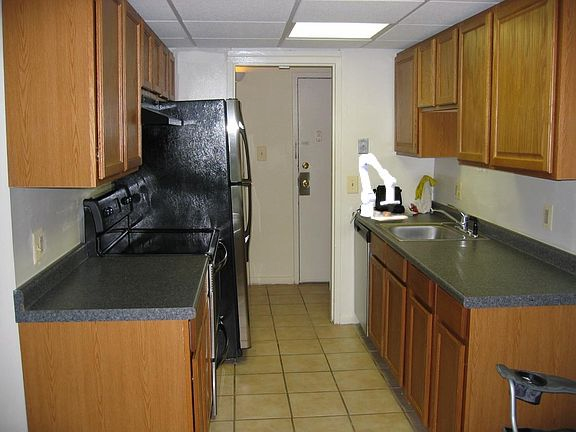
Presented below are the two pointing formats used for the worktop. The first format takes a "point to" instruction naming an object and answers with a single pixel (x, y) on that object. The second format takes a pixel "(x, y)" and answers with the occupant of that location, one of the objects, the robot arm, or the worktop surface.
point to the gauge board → (380, 217)
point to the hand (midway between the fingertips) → (390, 214)
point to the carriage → (387, 214)
